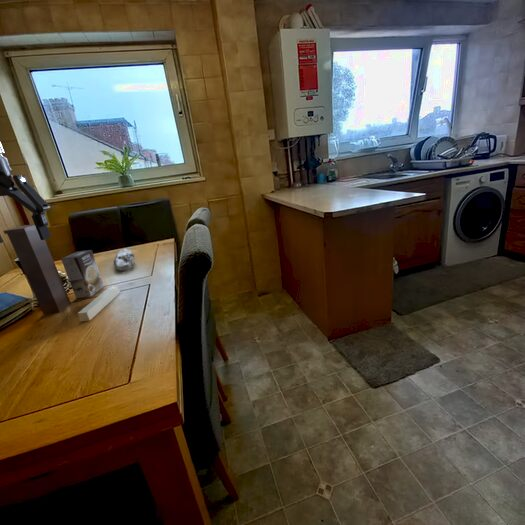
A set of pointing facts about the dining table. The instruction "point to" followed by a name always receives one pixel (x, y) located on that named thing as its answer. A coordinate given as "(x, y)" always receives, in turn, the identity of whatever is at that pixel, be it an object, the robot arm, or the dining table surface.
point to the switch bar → (98, 303)
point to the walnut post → (39, 268)
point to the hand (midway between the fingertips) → (21, 241)
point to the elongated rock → (124, 259)
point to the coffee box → (83, 273)
